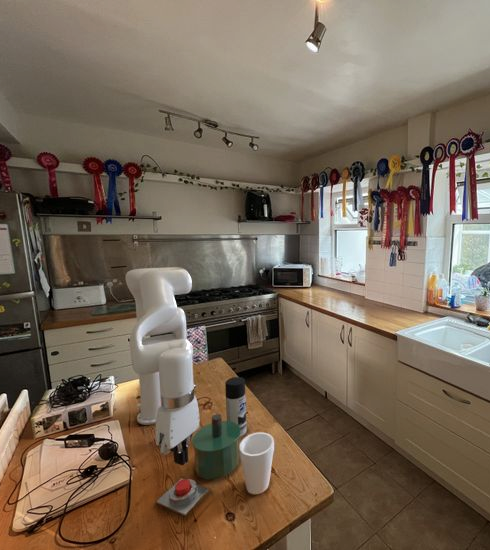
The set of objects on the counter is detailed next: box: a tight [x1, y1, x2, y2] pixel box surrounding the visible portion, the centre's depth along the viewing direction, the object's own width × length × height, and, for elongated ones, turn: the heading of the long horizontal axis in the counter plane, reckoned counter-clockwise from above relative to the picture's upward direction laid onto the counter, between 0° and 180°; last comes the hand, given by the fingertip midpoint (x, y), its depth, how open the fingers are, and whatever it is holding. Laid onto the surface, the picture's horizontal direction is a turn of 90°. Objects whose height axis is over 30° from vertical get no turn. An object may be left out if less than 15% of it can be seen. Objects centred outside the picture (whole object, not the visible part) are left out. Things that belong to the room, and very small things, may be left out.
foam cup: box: [239, 431, 275, 495], centre depth 82 cm, size 10×9×13 cm
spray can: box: [224, 376, 248, 438], centre depth 103 cm, size 7×7×20 cm
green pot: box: [193, 437, 240, 480], centre depth 90 cm, size 13×13×10 cm
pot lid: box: [191, 413, 241, 453], centre depth 89 cm, size 14×14×7 cm
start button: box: [174, 478, 190, 496], centre depth 78 cm, size 4×4×2 cm
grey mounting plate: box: [155, 477, 210, 518], centre depth 78 cm, size 10×8×3 cm
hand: (181, 461), depth 77 cm, fingers closed
